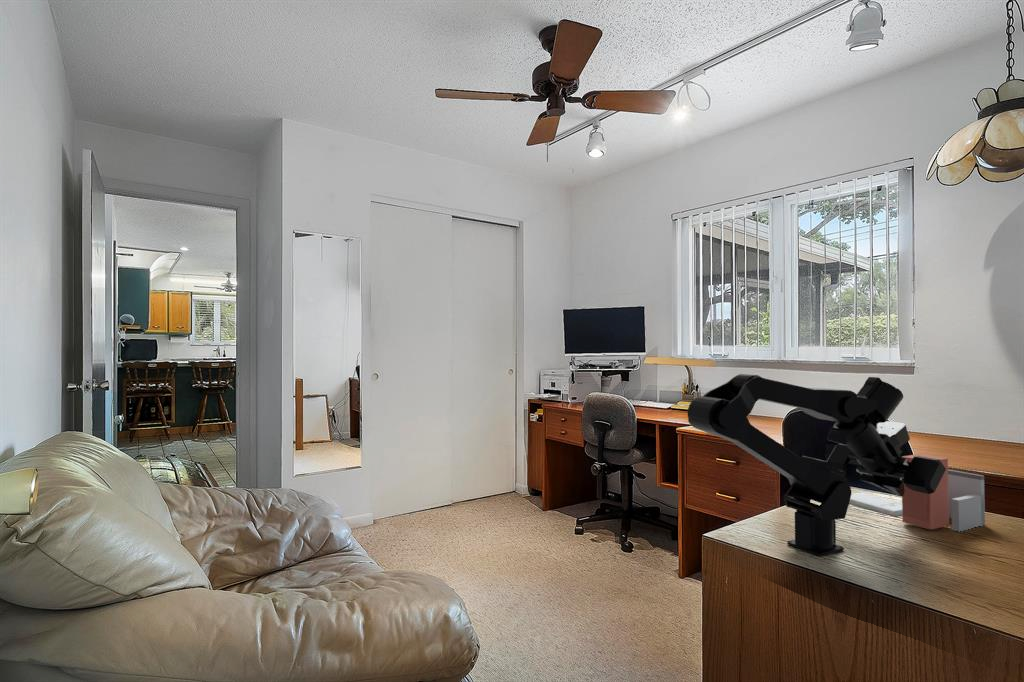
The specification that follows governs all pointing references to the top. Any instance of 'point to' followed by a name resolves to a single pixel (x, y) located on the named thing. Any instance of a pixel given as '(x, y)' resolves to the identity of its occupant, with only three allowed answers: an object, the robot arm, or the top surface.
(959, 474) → the socket block
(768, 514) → the top surface
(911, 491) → the pink rectangular block
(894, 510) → the external hard drive
